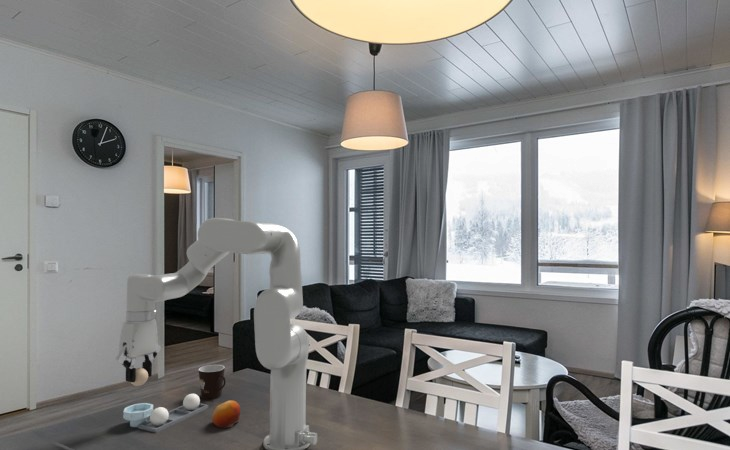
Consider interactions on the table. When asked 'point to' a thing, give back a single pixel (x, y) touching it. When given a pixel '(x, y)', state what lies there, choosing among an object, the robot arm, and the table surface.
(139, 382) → the egg brown
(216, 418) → the fruit
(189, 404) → the white egg
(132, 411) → the egg cup
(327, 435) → the table surface
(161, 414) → the white egg
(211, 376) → the coffee mug
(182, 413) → the egg tray
